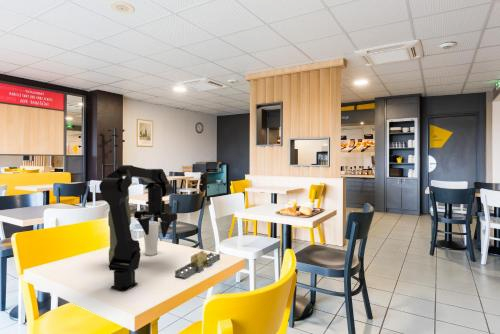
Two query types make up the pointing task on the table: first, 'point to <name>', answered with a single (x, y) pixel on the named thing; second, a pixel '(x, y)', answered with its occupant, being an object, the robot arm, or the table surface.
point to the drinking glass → (151, 239)
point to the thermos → (112, 232)
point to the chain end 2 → (212, 258)
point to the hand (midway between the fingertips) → (155, 235)
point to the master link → (199, 259)
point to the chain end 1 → (188, 271)
